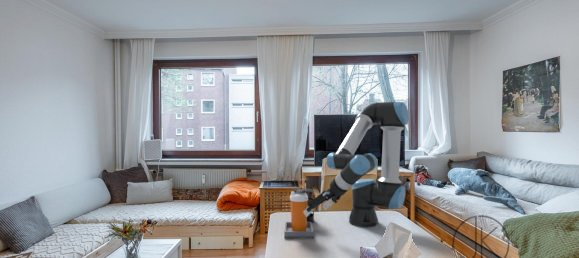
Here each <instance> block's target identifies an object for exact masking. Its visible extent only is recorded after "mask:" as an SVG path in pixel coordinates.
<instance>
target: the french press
mask: <svg viewBox="0 0 579 258" xmlns="http://www.w3.org/2000/svg"><path fill="white" fill-rule="evenodd" d="M301 181H303V182H304V187H305V188H298V189H296V190H297V191H298V190H305V191H306V192H305V193H306V194H310V195H311V196H313V195H314V189H312V188H307V184H306V183H307V181H310V179H308V178H302V179H301ZM313 199H314V198H313V197H310V196H308V201H307V207H308V206H309V205H308V203H309V202H311V201H312V200H313ZM314 214H315V209H314V210H313V211H312V212H311V213H310V214H309V215H308V216H307V222H312V224H313V223H314V222H315V217H314V216H315V215H314Z"/></svg>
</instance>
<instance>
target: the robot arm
mask: <svg viewBox="0 0 579 258" xmlns="http://www.w3.org/2000/svg"><path fill="white" fill-rule="evenodd" d="M409 116H410V113H409V110H408V107H407V104H406V103H404V102H402V101H385V102H373V103H370V104H369V105H367V106H365V107H364V108H362V109H361V110H360V111H359V112H358V114H357V115H356V117H355V119H354V123H353V125H352V126H351V128H350V129H349V132H348V133H347V134H346V136H345V138H344V139H343V141H342V143H341V144H340V145H339V148H337V150H336V152H330V153H329V154H328V155H327V157H326V165H327V167H328V168H330V169H332V170H336V171H337V170H340V172H339V173H338V174H337V175H336V176H335V177H334V178H333V179H332V180H331V181H330V183H329V188H328V189H327V190H323V191H322V192H321V193H320V194H319V195H317V196H316V197H315V198H313V200H310V201H311V202H309V203H308V205H309V206H308V207H307V208H306V209H305V210H304V211H303V213H304V214H305V216H306V217H307V216H308V215H309V214H310V213H313V210H314V211H315V210H316V208H317V207H318V206H320V205H321V204H322V208H323V209H324V210H325V211H327V210H328V209H330V207H331V206H332V205H333V204H337V203H338V201H339V200H340V199H341V198H342V196H344V195H345V194H346V193H347V192H348V190H350V189H352V207H351V211H350V214H349V217H348V219H349V221H348V222H349V224H351V225H353V226H356V227H358V228H359V227H361V228H373V227H376V226H378V224H379V219H378V215H377V211H376V206H377V207H381V208H386V209H390V210H393V209H394V210H398V209H400V208H402V207H403V205H404V202H405V198H406V192H407V191H406V187H405V186H403V183H402V181H401V180H400V178H399V177H400V160H401V159H400V158H401V157H400V156H401V136H402V131H403V130H404V129H405V126H406V125H408V124H409V122H410V121H409V119H410V117H409ZM374 125H380V129H381V130H382V131H383V133H382V150H381V151H382V153H381V167H380V169H381V171H380V172H381V174H380V177H379V178H378V179H377V182H376V181H375V179H374V178H362V177H363V176H365V175H367V174H368V173H370V172H373V171H374V169H376V167H377V166H378V158H377V156H375V155H374V154H373V153H369V152H368V153H364V154H355V153H356V151H357V149H358V148H359V146H360V144H361V142H362V141H363V138H364V137H365V135H366V134H367V131H368V130H369V129H372V127H373V126H374Z"/></svg>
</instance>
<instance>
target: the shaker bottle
mask: <svg viewBox="0 0 579 258" xmlns="http://www.w3.org/2000/svg"><path fill="white" fill-rule="evenodd" d="M297 190H298V189H293V190H292V191H291V192H290V195H289V201H290V216H291V217H290V218H291V219H290V222H292V231H306V226H307V217H306V216H305V214H304V213H303V211H304V210H305V209H306V208H307V201H309V200H308V197H309V196H308V193H305V192H306V191H305V190H298V191H297Z"/></svg>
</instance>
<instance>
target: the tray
mask: <svg viewBox="0 0 579 258" xmlns="http://www.w3.org/2000/svg"><path fill="white" fill-rule="evenodd" d="M284 239H314V227H313V223H312V222H307V226H306V231H292V222H291V221H285V222H284Z"/></svg>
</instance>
